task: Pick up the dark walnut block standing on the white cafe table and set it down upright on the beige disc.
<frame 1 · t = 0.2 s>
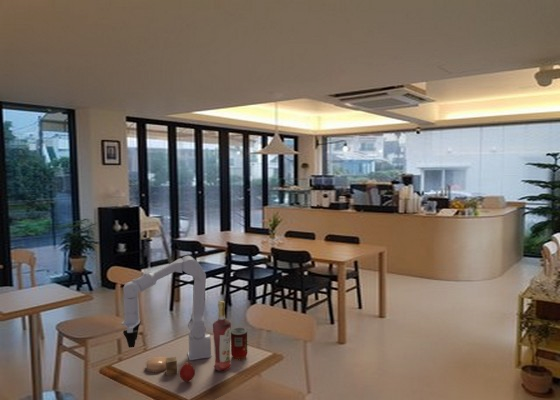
hand: (132, 343, 169), 10 cm above the table, tool pointing down, fingers open, 7 cm apart
onion: (187, 382, 156), on the table
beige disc: (157, 366, 169), on the table
walnut block: (171, 372, 164), on the table
liquor: (222, 369, 167), on the table
soda can: (239, 357, 177), on the table
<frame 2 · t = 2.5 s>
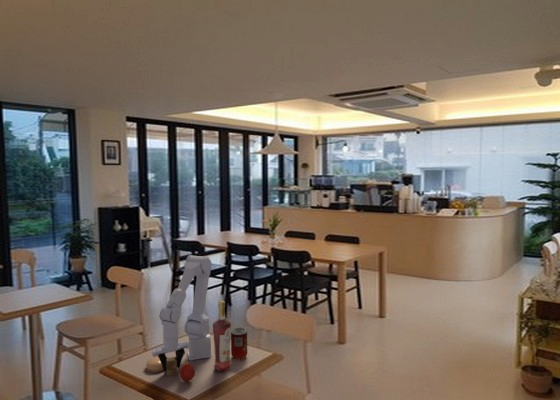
hand: (171, 369, 164), 1 cm above the table, tool pointing down, fingers closed on walnut block, 5 cm apart
walnut block: (171, 372, 164), on the table, touching gripper
everything else where it was.
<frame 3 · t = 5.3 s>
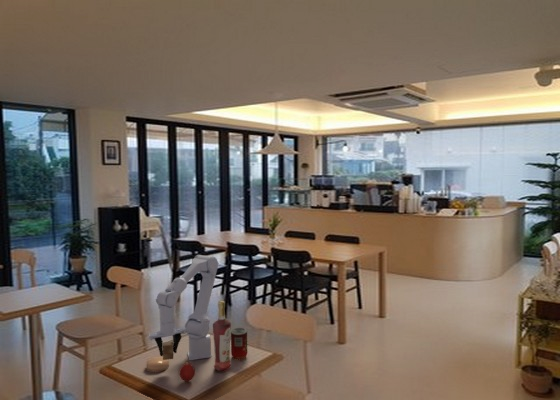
hand: (168, 353, 164), 7 cm above the table, tool pointing down, fingers closed on walnut block, 5 cm apart
walnut block: (168, 357, 164), point 6 cm above the table, touching gripper
everything else where it was.
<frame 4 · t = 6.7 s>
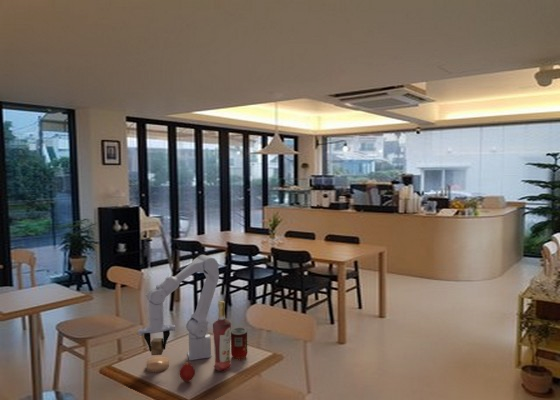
hand: (157, 349, 168), 7 cm above the table, tool pointing down, fingers closed on walnut block, 5 cm apart
walnut block: (157, 353, 168), point 6 cm above the table, touching gripper
everything else where it was.
when the fingers open (5 cm above the table, at t = 8.0 s): walnut block stays where it is, resting on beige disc.
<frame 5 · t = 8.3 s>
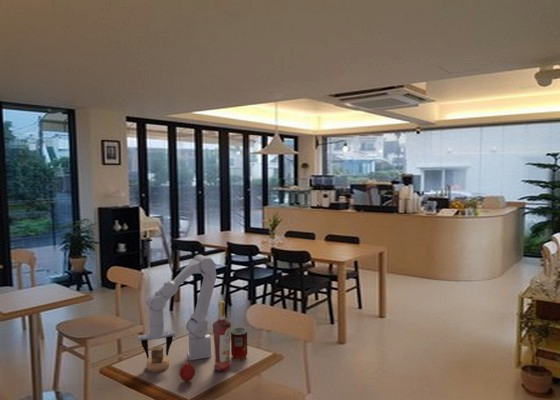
hand: (157, 355, 168), 5 cm above the table, tool pointing down, fingers open, 7 cm apart
walnut block: (157, 361, 169), point 2 cm above the table, touching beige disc
everything else where it was.
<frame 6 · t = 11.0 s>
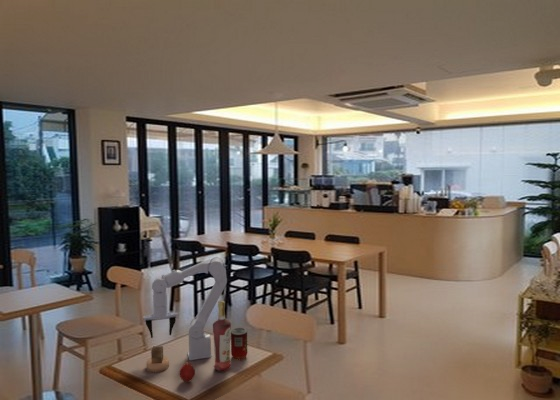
hand: (161, 335, 176), 10 cm above the table, tool pointing down, fingers open, 7 cm apart
nothing on the table moved.
at the end: walnut block 0.0 cm off-centre on the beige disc, point 2.5 cm above the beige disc's base; walnut block tilted 0°; the gripper is holding nothing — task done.
